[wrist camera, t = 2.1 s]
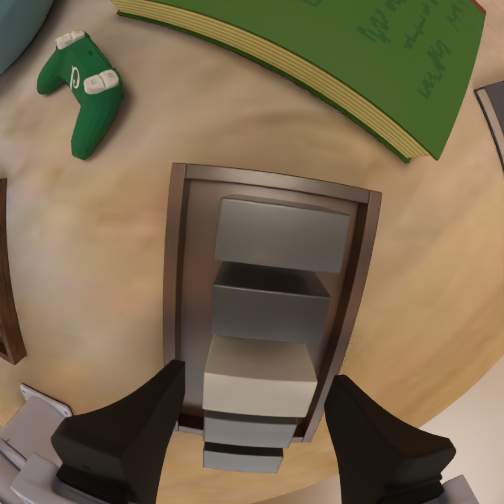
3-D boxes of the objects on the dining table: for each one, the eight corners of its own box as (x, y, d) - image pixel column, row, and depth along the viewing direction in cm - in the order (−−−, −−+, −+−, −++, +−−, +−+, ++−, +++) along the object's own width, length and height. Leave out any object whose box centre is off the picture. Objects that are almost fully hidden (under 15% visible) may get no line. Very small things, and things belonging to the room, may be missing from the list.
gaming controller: (120, 145, 17) (144, 86, 13) (76, 168, 15) (85, 107, 10) (73, 74, 16) (87, 18, 11) (33, 90, 13) (39, 31, 9)
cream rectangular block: (291, 349, 18) (305, 417, 12) (217, 342, 18) (202, 409, 11) (298, 318, 17) (318, 382, 11) (219, 310, 17) (203, 372, 11)
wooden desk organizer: (307, 424, 21) (318, 482, 14) (174, 411, 20) (156, 468, 14) (367, 191, 16) (424, 196, 10) (182, 165, 16) (141, 153, 10)
